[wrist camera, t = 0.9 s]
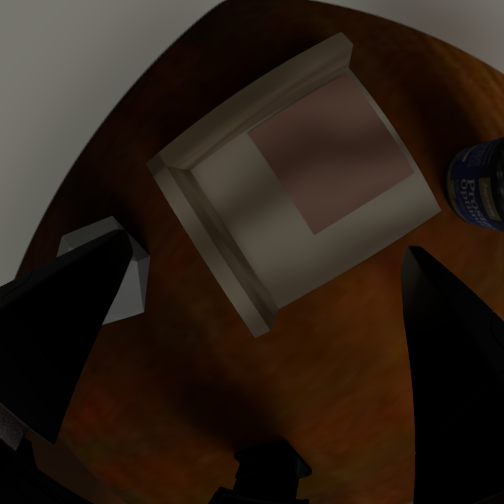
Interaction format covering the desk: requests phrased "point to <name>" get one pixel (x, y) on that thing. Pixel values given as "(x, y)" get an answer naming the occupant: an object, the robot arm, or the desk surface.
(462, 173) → the pill bottle
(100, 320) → the robot arm
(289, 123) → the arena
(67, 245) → the grey polyhedron
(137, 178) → the desk surface
